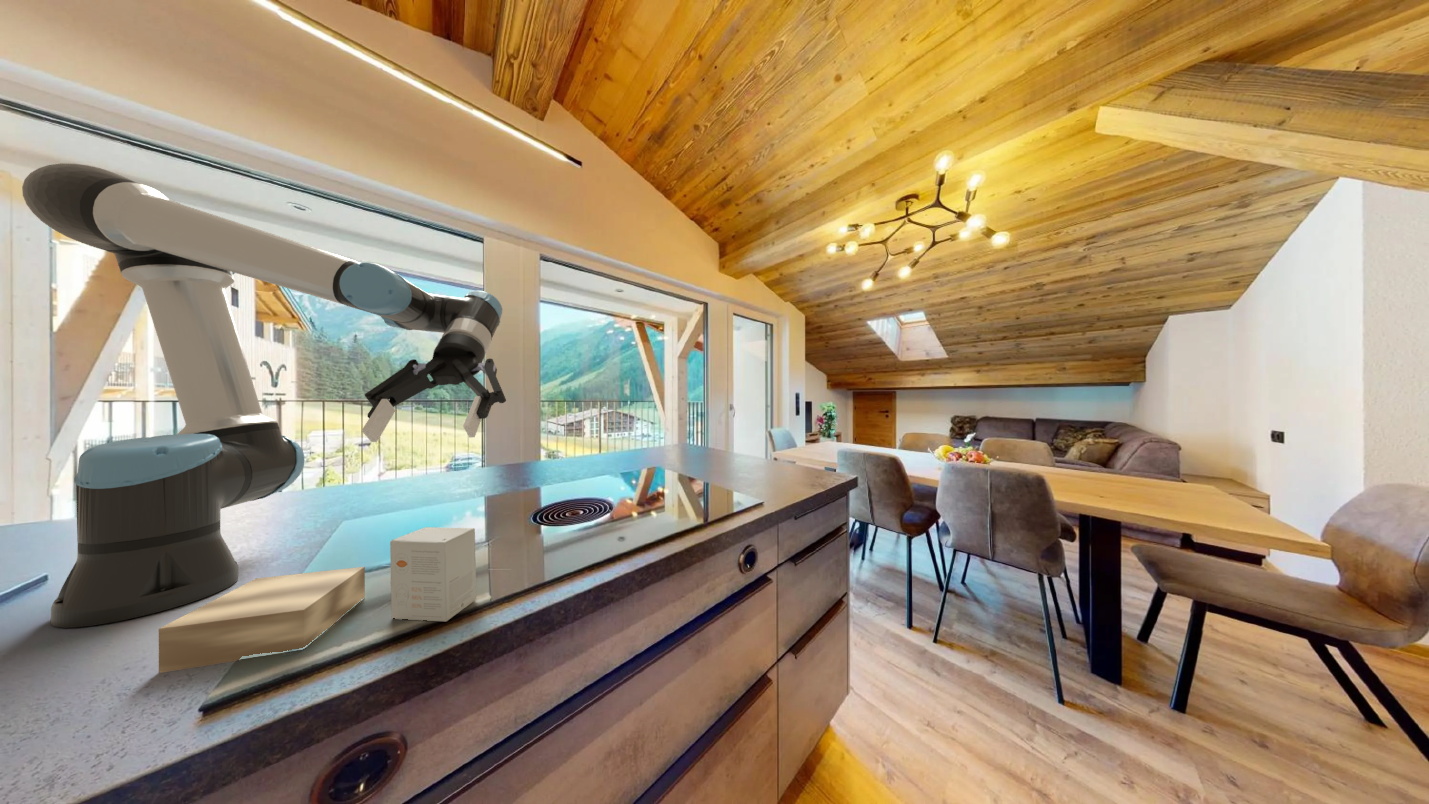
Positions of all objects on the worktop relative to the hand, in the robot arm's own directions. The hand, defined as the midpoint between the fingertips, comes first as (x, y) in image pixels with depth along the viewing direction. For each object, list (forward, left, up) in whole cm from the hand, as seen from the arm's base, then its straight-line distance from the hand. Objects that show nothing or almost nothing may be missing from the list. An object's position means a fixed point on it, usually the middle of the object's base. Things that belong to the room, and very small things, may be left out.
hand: (420, 434), depth 58 cm
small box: (+7, +4, -24) cm, 25 cm away
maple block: (+6, -13, -24) cm, 28 cm away
